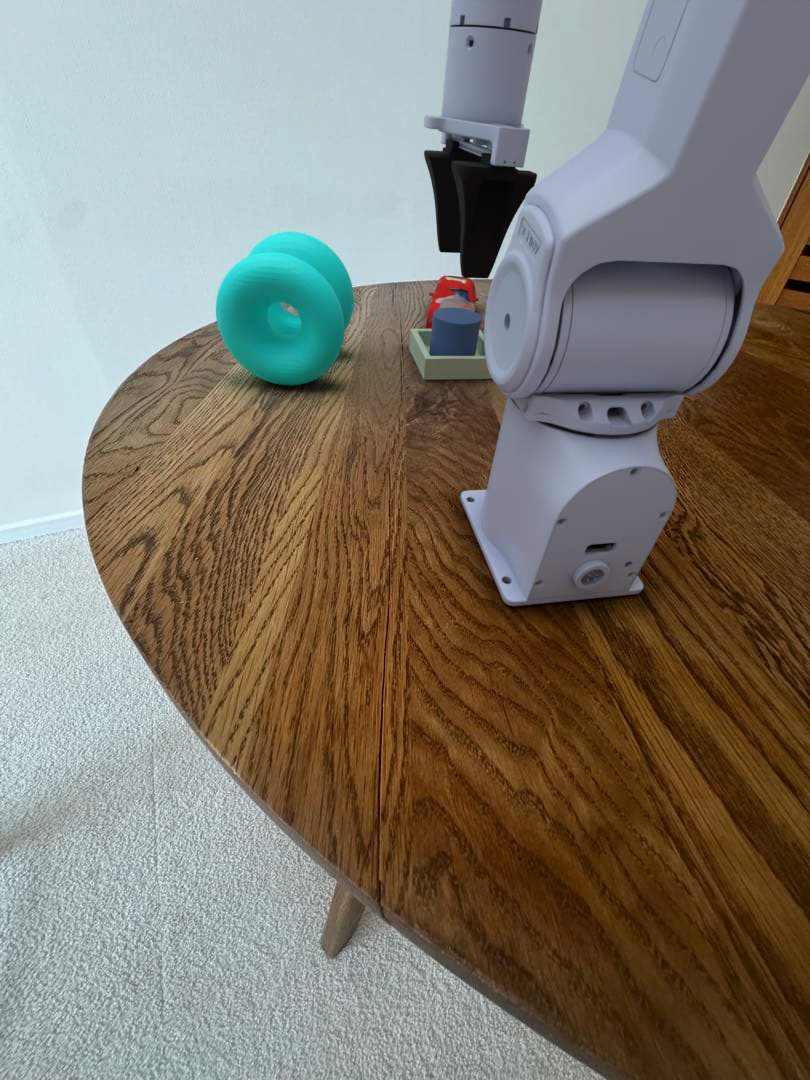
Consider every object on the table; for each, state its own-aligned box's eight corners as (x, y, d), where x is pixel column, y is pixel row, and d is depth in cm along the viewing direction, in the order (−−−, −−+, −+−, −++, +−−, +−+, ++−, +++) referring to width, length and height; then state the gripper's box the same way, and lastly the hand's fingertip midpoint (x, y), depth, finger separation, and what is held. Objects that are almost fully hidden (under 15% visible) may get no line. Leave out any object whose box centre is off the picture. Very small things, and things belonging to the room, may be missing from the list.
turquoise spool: (355, 349, 50) (355, 233, 43) (342, 396, 42) (341, 264, 35) (253, 341, 49) (238, 223, 43) (222, 386, 42) (198, 251, 35)
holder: (498, 379, 47) (502, 358, 46) (423, 380, 46) (425, 358, 44) (476, 348, 52) (479, 328, 51) (408, 348, 51) (410, 328, 49)
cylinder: (479, 367, 47) (487, 324, 45) (434, 368, 46) (439, 323, 44) (467, 349, 50) (473, 307, 48) (424, 349, 50) (428, 306, 47)
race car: (472, 344, 53) (478, 304, 50) (421, 338, 53) (424, 298, 51) (477, 304, 63) (483, 269, 60) (434, 299, 63) (437, 264, 60)
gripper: (411, 32, 37) (399, 240, 46) (463, 15, 27) (434, 289, 36) (501, 42, 39) (473, 243, 48) (584, 30, 28) (527, 291, 37)
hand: (462, 263), depth 42 cm, fingers open, 7 cm apart
